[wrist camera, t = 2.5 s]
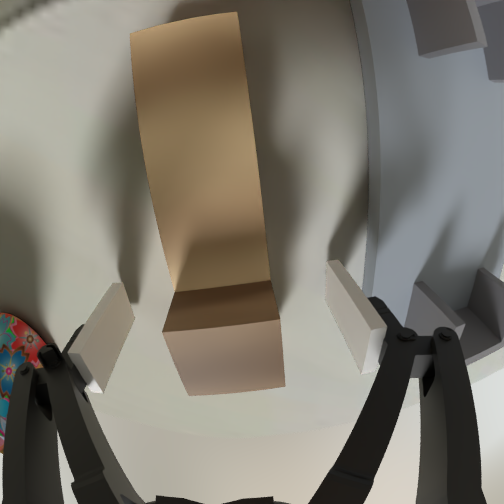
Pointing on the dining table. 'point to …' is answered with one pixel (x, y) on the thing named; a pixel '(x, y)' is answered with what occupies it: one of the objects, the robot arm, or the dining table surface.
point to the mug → (14, 359)
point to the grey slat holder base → (436, 164)
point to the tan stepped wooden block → (208, 204)
